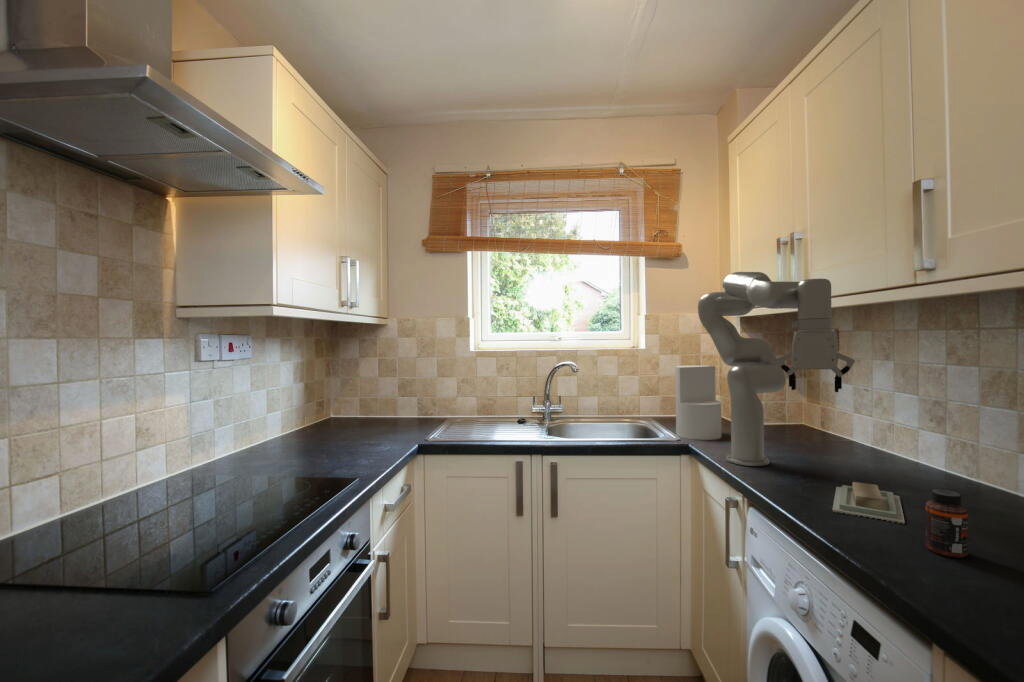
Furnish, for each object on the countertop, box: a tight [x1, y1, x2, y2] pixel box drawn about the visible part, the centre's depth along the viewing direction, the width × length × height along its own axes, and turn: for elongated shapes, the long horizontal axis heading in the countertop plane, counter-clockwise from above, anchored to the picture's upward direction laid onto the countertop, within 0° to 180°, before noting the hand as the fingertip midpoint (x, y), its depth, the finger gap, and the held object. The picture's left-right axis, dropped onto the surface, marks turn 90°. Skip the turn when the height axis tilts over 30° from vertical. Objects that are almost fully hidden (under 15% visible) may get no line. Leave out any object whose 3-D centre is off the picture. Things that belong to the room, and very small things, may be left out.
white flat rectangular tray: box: [832, 484, 906, 525], centre depth 115 cm, size 20×13×2 cm, turn 143°
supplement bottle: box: [925, 489, 969, 559], centre depth 90 cm, size 6×6×11 cm
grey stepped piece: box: [675, 364, 722, 441], centre depth 194 cm, size 17×17×28 cm
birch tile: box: [852, 481, 883, 510], centre depth 115 cm, size 5×12×3 cm, turn 147°
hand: (814, 390), depth 126 cm, fingers open, 9 cm apart
